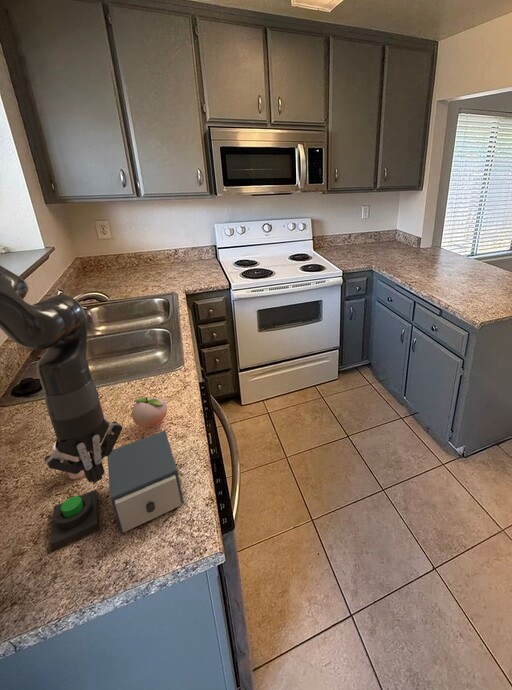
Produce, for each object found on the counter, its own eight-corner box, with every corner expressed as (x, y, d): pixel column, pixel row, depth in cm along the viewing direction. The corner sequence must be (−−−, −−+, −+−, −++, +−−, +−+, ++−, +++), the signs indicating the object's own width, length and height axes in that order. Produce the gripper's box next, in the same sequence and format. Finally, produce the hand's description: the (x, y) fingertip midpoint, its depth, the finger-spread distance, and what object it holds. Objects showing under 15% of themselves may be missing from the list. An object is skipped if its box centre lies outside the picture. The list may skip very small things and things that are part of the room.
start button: (83, 511, 75) (81, 505, 74) (62, 520, 73) (60, 514, 73) (83, 499, 78) (81, 493, 77) (63, 507, 76) (61, 501, 75)
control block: (99, 529, 74) (95, 517, 73) (52, 550, 70) (47, 538, 69) (98, 494, 82) (94, 483, 81) (55, 512, 78) (51, 500, 77)
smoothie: (57, 485, 85) (40, 438, 80) (70, 464, 91) (56, 419, 86) (86, 481, 86) (71, 434, 81) (97, 461, 92) (84, 416, 87)
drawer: (182, 509, 77) (177, 482, 75) (123, 537, 72) (115, 509, 69) (170, 464, 89) (164, 439, 87) (118, 486, 84) (111, 459, 81)
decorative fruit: (128, 436, 100) (121, 406, 97) (144, 416, 108) (137, 388, 105) (161, 437, 100) (154, 407, 96) (174, 417, 108) (168, 389, 104)
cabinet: (183, 502, 80) (177, 469, 77) (120, 532, 74) (110, 498, 71) (171, 460, 92) (165, 430, 88) (115, 483, 85) (107, 451, 82)
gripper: (104, 380, 71) (122, 450, 77) (22, 416, 61) (49, 492, 67) (122, 394, 67) (139, 466, 72) (36, 434, 57) (64, 514, 63)
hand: (96, 478), depth 70 cm, fingers closed
